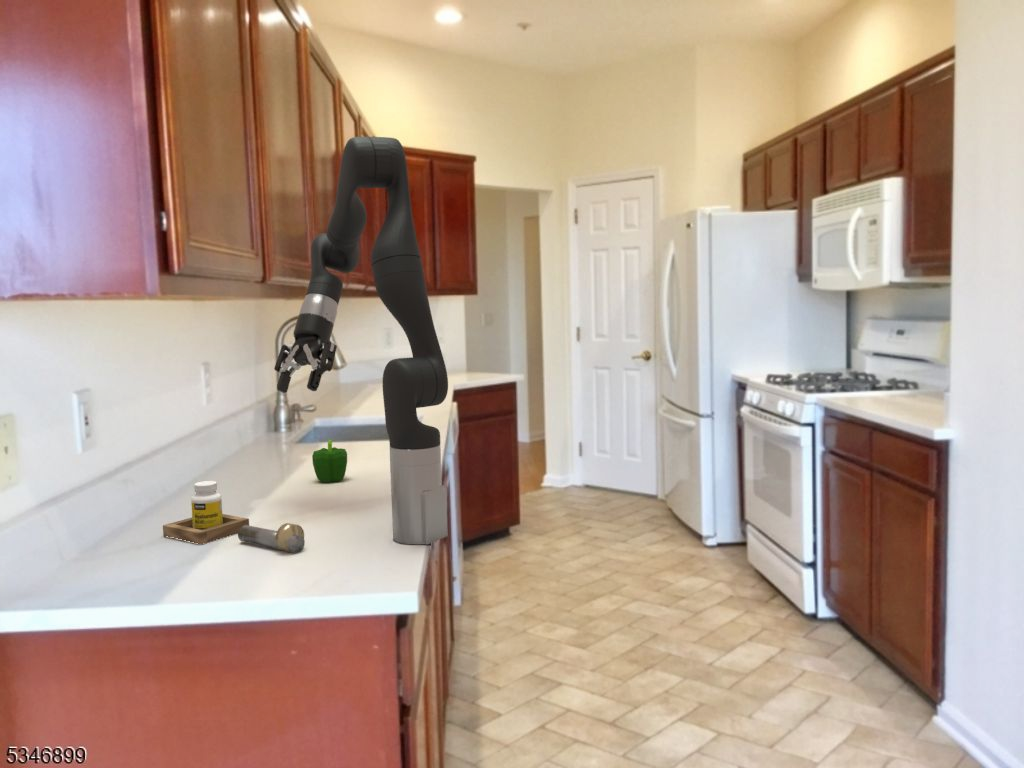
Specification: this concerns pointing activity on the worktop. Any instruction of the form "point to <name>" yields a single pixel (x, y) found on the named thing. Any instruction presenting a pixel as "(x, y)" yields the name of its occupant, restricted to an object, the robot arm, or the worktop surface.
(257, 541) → the shaft
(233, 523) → the collar block
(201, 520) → the supplement bottle
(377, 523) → the worktop surface
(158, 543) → the worktop surface
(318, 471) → the bell pepper
